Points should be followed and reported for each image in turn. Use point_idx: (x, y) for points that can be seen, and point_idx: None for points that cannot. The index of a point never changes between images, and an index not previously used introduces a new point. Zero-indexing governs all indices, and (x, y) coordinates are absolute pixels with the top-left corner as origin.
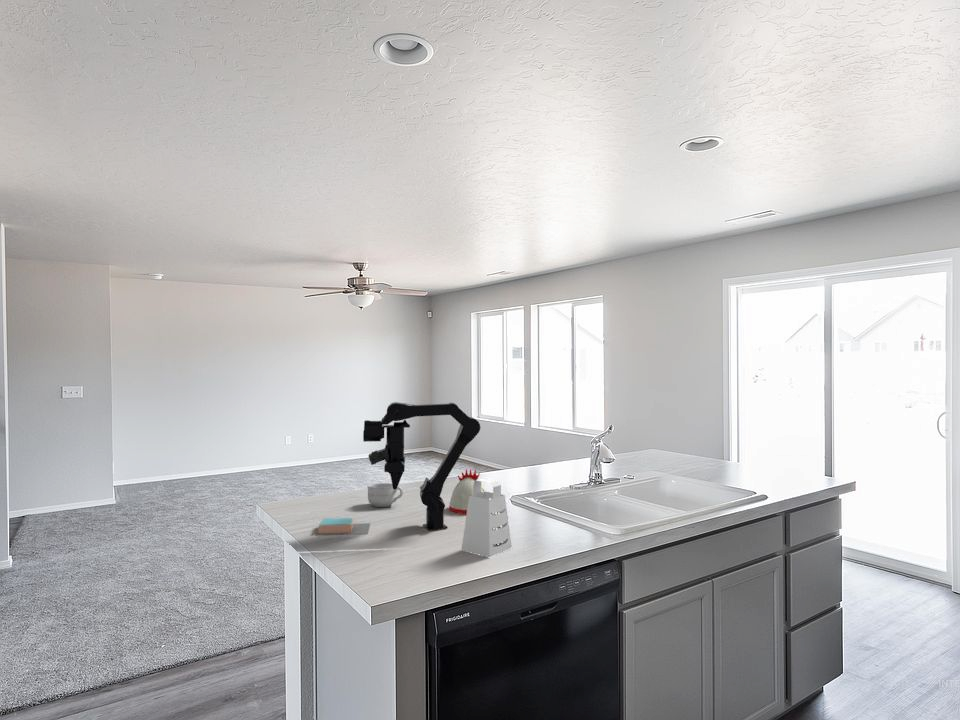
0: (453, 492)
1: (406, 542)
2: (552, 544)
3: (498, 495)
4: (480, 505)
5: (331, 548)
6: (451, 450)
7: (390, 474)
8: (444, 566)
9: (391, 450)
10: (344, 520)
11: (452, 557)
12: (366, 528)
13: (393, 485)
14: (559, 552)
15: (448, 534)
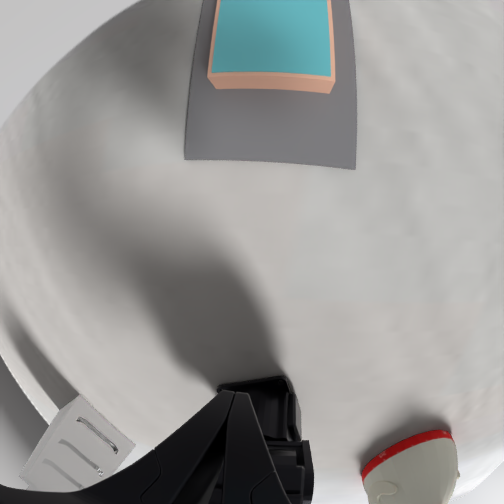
0: (433, 475)
1: (108, 298)
2: None
3: None
4: (27, 466)
5: (88, 71)
6: None
7: (82, 491)
8: (14, 336)
9: None
10: (281, 43)
11: (45, 364)
12: (271, 149)
13: (199, 416)
14: None
15: (183, 415)
